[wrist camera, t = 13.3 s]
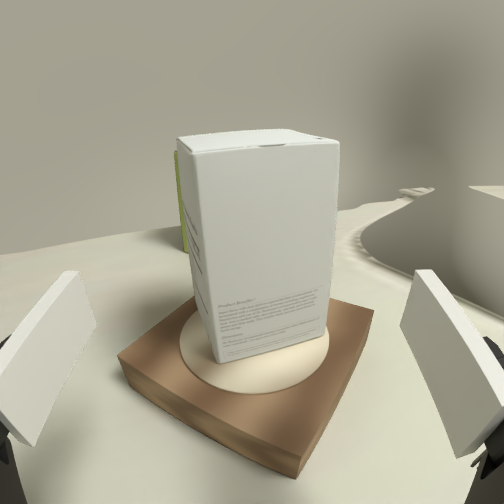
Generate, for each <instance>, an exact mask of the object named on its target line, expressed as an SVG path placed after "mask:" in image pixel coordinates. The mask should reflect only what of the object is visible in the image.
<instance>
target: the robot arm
mask: <svg viewBox="0 0 504 504" xmlns="http://www.w3.org/2000/svg"><path fill="white" fill-rule="evenodd" d="M96 326H97V322H96V320H95V317H94V314H93V311H92V309H91V306H90V303H89V300H88V297H87V294H86V291H85V288H84V285H83V281H82V278H81V275H80V272H79V271H64V272H63V274H62V275H61V276H60V277H59V278H58V279H57V280H56V281H55V282H54V284H53V285H52V286H51V287H50V288H49V289H48V290H47V292H46V293H45V294H44V295H43V296H42V297H41V299H40V300H39V301H38V302H37V303H36V305H35V306H34V307H33V308H32V309H31V311H30V312H29V313H28V314H27V316H26V317H25V318H24V319H23V321H22V322H21V323H20V324H19V326H18V327H17V328H16V330H15V331H14V332H13V333H12V334H11V335H10V336H8V337H7V338H6V339H5V340H3V341H2V342H1V343H0V504H27V501H26V498H25V495H24V492H23V489H22V485H21V482H20V478H19V475H18V471H17V467H16V463H15V459H14V454H13V450H12V445H11V442H10V440H9V438H8V437H7V435H8V433H9V432H10V433H11V434H12V435H13V436H14V437H15V438H16V439H17V440H18V441H20V442H22V443H24V444H27V445H29V446H31V447H34V446H35V444H36V442H37V439H38V437H39V435H40V433H41V431H42V428H43V426H44V424H45V422H46V420H47V418H48V416H49V414H50V412H51V409H52V407H53V405H54V403H55V401H56V399H57V397H58V395H59V393H60V391H61V389H62V388H63V386H64V384H65V382H66V380H67V378H68V376H69V374H70V372H71V370H72V369H73V367H74V365H75V363H76V361H77V359H78V358H79V356H80V354H81V352H82V350H83V349H84V347H85V345H86V343H87V341H88V340H89V338H90V336H91V335H92V333H93V331H94V329H95V328H96ZM400 328H401V330H402V332H403V334H404V336H405V338H406V340H407V342H408V344H409V346H410V348H411V350H412V353H413V355H414V357H415V359H416V361H417V363H418V365H419V368H420V370H421V372H422V374H423V377H424V379H425V381H426V383H427V386H428V388H429V390H430V393H431V395H432V397H433V400H434V402H435V404H436V407H437V409H438V412H439V414H440V417H441V419H442V422H443V424H444V427H445V430H446V432H447V435H448V437H449V440H450V443H451V446H452V448H453V451H454V454H455V457H456V459H457V458H460V457H463V456H465V455H468V454H471V453H473V452H475V451H476V450H477V449H478V448H479V447H480V446H481V445H482V444H483V443H485V446H486V448H487V449H486V450H485V451H484V452H483V453H482V454H481V455H480V456H479V457H477V458H476V459H475V460H474V461H473V463H472V465H471V466H470V467H474V466H475V465H476V464H477V463H478V462H479V461H480V463H479V466H478V467H477V472H476V475H475V478H474V480H473V483H472V486H471V488H470V491H469V493H468V496H467V498H466V501H465V503H464V504H504V354H503V353H502V351H501V350H500V348H499V347H498V345H497V344H495V343H494V342H493V341H492V340H491V339H489V338H488V337H487V336H486V337H482V336H481V335H480V333H479V332H478V330H477V329H476V328H475V326H474V325H473V323H472V322H471V321H470V319H469V318H468V316H467V315H466V314H465V312H464V311H463V309H462V308H461V307H460V305H459V304H458V303H457V301H456V300H455V299H454V297H453V296H452V295H451V294H450V292H449V291H448V290H447V288H446V287H445V286H444V285H443V283H442V282H441V281H440V279H439V278H438V277H437V276H436V274H435V273H434V272H433V271H432V270H415V274H414V278H413V281H412V285H411V289H410V292H409V296H408V299H407V303H406V306H405V310H404V313H403V316H402V319H401V323H400Z"/></svg>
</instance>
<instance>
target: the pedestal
mask: <svg viewBox="0 0 504 504" xmlns="http://www.w3.org/2000/svg"><path fill="white" fill-rule="evenodd" d="M373 313H374V310H371V309H368V308H364V307H360V306H357V305H353V304H349V303H346V302H342V301H339V300H335V299H331V298H329V304H328V312H327V321H326V328H325V334H324V335H322V336H319V337H316V338H313V339H310V340H307V341H303V342H300V343H297V344H293V345H290V346H286V347H283V348H279V349H276V350H272V351H269V352H265V353H261V354H258V355H254V356H250V357H246V358H242V359H238V360H234V361H230V362H226V363H222V364H219V363H217V361H216V359H215V356H214V353H213V351H212V348H211V345H210V342H209V339H208V337H207V334H206V331H205V328H204V325H203V322H202V319H201V316H200V313H199V310H198V307H197V304H196V301H195V296H194V297H192V298H191V299H190V300H188V301H187V302H186V303H184V304H183V305H182V306H181V307H179V308H178V309H177V310H175V311H174V312H173V313H171V314H170V315H169V316H168V317H166V318H165V319H164V320H162V321H161V322H160V323H158V324H157V325H156V326H155V327H153V328H152V329H151V330H149V331H148V332H147V333H145V334H144V335H143V336H142V337H140V338H139V339H138V340H136V341H135V342H134V343H132V344H131V345H130V346H129V347H127V348H126V349H125V350H123V351H122V352H121V353H119V354H118V355H117V357H118V359H119V362H120V364H121V366H122V369H123V371H124V373H125V376H126V378H127V380H128V382H129V385H130V387H132V388H133V389H134V390H136V391H137V392H139V393H140V394H141V395H143V396H144V397H146V398H147V399H149V400H150V401H151V402H153V403H154V404H156V405H157V406H159V407H160V408H162V409H163V410H165V411H166V412H168V413H170V414H171V415H173V416H174V417H176V418H177V419H179V420H181V421H182V422H184V423H185V424H187V425H189V426H190V427H192V428H194V429H195V430H197V431H199V432H200V433H202V434H204V435H206V436H207V437H209V438H211V439H213V440H215V441H216V442H218V443H220V444H222V445H224V446H226V447H227V448H229V449H231V450H233V451H235V452H237V453H239V454H241V455H243V456H245V457H247V458H249V459H251V460H253V461H255V462H257V463H259V464H262V465H264V466H266V467H268V468H270V469H272V470H275V471H277V472H279V473H282V474H284V475H286V476H289V477H291V478H293V479H296V478H297V477H298V475H299V474H300V472H301V470H302V469H303V467H304V465H305V464H306V462H307V460H308V459H309V457H310V455H311V453H312V452H313V450H314V448H315V446H316V445H317V443H318V441H319V439H320V437H321V436H322V434H323V432H324V430H325V428H326V426H327V424H328V423H329V421H330V419H331V417H332V415H333V413H334V411H335V409H336V407H337V405H338V403H339V401H340V399H341V397H342V395H343V393H344V391H345V389H346V386H347V384H348V382H349V380H350V378H351V376H352V374H353V371H354V369H355V367H356V365H357V362H358V360H359V358H360V355H361V353H362V351H363V348H364V346H365V344H366V341H367V337H368V333H369V329H370V325H371V321H372V317H373Z"/></svg>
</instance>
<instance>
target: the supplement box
mask: <svg viewBox="0 0 504 504" xmlns="http://www.w3.org/2000/svg"><path fill="white" fill-rule="evenodd" d="M339 154H340V143H339V142H338V141H336V140H332V139H327V138H322V137H317V136H312V135H308V134H304V133H300V132H297V131H293V130H288V129H266V130H249V131H248V130H247V131H233V132H222V133H211V134H202V135H193V136H185V137H177V155H178V166H179V177H180V186H181V195H182V204H183V212H184V221H185V228H186V236H187V244H188V251H189V259H190V266H191V273H192V280H193V287H194V293H195V301H196V304H197V307H198V310H199V313H200V316H201V319H202V322H203V325H204V328H205V331H206V334H207V337H208V339H209V342H210V345H211V348H212V351H213V353H214V356H215V359H216V361H217V363H219V364H222V363H226V362H230V361H234V360H238V359H242V358H246V357H250V356H254V355H258V354H261V353H265V352H269V351H272V350H276V349H279V348H283V347H286V346H290V345H293V344H297V343H300V342H303V341H307V340H310V339H313V338H316V337H319V336H322V335H324V334H325V328H326V321H327V312H328V304H329V296H330V287H331V277H332V267H333V256H334V245H335V231H336V217H337V199H338V179H339Z"/></svg>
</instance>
